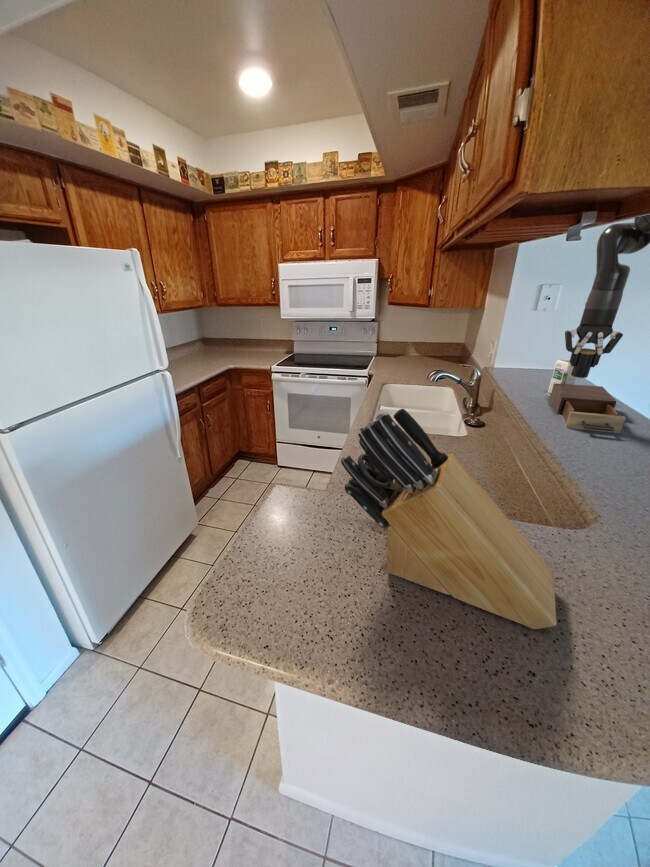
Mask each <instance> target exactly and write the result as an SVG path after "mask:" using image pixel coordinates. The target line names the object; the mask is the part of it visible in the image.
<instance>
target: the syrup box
mask: <svg viewBox="0 0 650 867" xmlns="http://www.w3.org/2000/svg"><path fill="white" fill-rule="evenodd" d="M569 361H570V358H563V359H557V360H556V361H555V364H554V368H553V372H552V375H551V379H550V382H549V386H548V389H547V393H546V396H547V395H548V397H550V396H551V392H552V388H553V385H554V383H555V384H570V385H575V383H576V379H577V377H574V376H571V373H572V370H573V367H574V366H572V365H571V364H570V362H569Z"/></svg>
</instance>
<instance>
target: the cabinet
mask: <svg viewBox="0 0 650 867" xmlns="http://www.w3.org/2000/svg"><path fill="white" fill-rule="evenodd" d="M564 400H573V401H586V402H598V403H609V404H610V405H611V406H612V407H613V408H614V409H615V407H616V404H617V400H616V399H615V398H614V397H613V396H612V395H611V393H609V392H608V390H607V389H605V388H604V386H601V385H585V384H584V385H583V384H574V385H570V384H555V383H554V385H553V388H552V392H551V396H549V399H548V405H549V404H550V405H549V407H553V408H554V410H555V413H556V414H557V415H561V414H562V413H561V409H562V406H563V403H564Z"/></svg>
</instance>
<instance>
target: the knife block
mask: <svg viewBox="0 0 650 867" xmlns="http://www.w3.org/2000/svg"><path fill="white" fill-rule="evenodd" d="M357 435H358V437H359V439H358V444H359V445H360V447H361V449H362V450H363V451H364V453H362V454H360V455H359V456H358V457H357V462H355V461H354V459H353V458H352V456H351V455H350V454H348V455H345V456H343V457H342V458H340V463H341V466H342V467H343V468H344V469H345V471H346V472H347V474H348V475H349V476H350V478H349V479H348V483H345V485H344V490H345V492H346V494H348V495H349V496H350V497H352V499H353V500H354V501H355V502H356V503H357V504H358V505H359V506H360V508H362V510H364V511H365V512H366V513H367V514H368V515H369V517H370V518H372V520H374V521H375V522H376V523H377V524H378V525H379V526H380V527H381V528H384V529H385V528H386V529H387V530H386V565H385V566H386V572H387V573H388V574H391V575H394V576H396V577H399V578H401V579H405V580H407V581H409V582H412V583H415V584H418V585H419V586H420V585H421V586H422V587H425V588H428V589H431V590H434V591H436V592H439V593H442V594H445V595H449V596H451V597H452V598H454V599H456V600H459V601H461V602H463V603H466V604H468V605H471V606H473V607H476V608H479V609H481V610H484V611H487V612H489V613H492V614H494V615H497V616H499V617H502V618H505V619H507V620H510V621H512V622H515V623H518V624H520V625H522V626H525V627H527V628H530V629H533V630H540V629H548V628H553V627H556V626H557V610H556V590H555V579H554V571H553V570H552V569H551V567H549V565H548V563H546V561H545V560H543V558H542V557H541V556H540V555H539V553H538V552H537V551H536V550H535V549H534V548H533V547H532V545H531V544H530V542H528V540H527V539H526V538H525V537H524V536H523V534H522V533H521V532H520V531H519V530H518V528H516V526H515V525H514V524H513V523H512V521H511V520H510V519H509V518H508V517H507V516H506V515H505V514H504V512H503V511H502V510H501V509H500V508H499V506H498V505H497V504H496V503H495V502H494V501H493V499H492V498H491V497H490V496H489V495H488V493H486V491H485V490H484V489H483V488H482V486H481V485H480V484H479V483H478V482H477V481H476V479H475V478H473V476H472V475H471V474H470V473H469V472H468V470H467V469H466V468H465V467H464V465H462V464H461V463H460V461H459V460H458V459H457V458H456V457H455V455H454V454H453V453H449V454H446V453H445V452H441V451H439V450H438V448H436V446H435V445H434V443H433V441H432V440H431V438H430V437H429V436H428V433H426V431H425V430H424V429H423V427H422V426H421V425H420V424H419V423H418V421H416V420H415V419H414V417H412V415H411V414H410V413H409V412H408V411H407V410H406V409H405V408H400V409H398V410H397V411H396V412H395V413H394V415H393V418H392V416H391V414H390V413H389V412H381V413H379V414H377V415H376V417H375V420H374V421H370V422H368V423H367V424H366V426H363V427H361V428H359V429H358V430H357ZM417 445H418V446H419V447H418V446H417ZM420 449H421V450H422V451H424V453H425V454H426V455H427V456H428V458H429V459H430V462H429V461H428V459H427V458H426V457H425V455H424V454H423V453H422V451H421V450H420Z"/></svg>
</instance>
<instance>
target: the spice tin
mask: <svg viewBox="0 0 650 867" xmlns="http://www.w3.org/2000/svg"><path fill="white" fill-rule="evenodd" d="M596 352H597V350H595V348H586V347H585V348H584V347H582V349H581V350H580V352H579V353H578V354H579V356H578V359H577V362H576V365H575V366H574V367H573V370H572V373H571V376H574V377H576V378H579V379H586V378H588V377H589V374H590V372H591V368H592V367H591V365H592V362H593V359H594V357H595V354H596Z"/></svg>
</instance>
